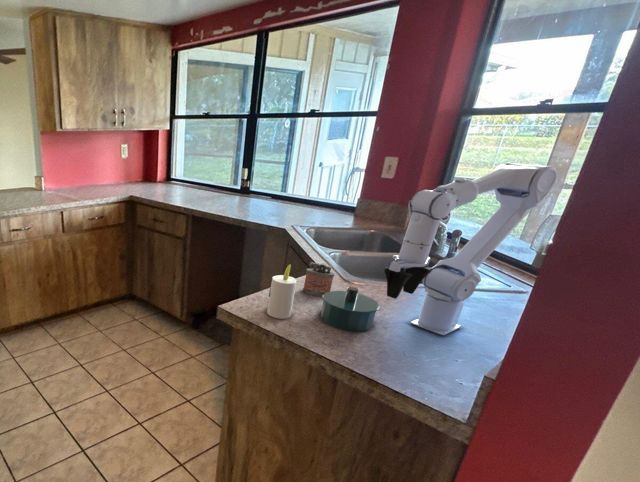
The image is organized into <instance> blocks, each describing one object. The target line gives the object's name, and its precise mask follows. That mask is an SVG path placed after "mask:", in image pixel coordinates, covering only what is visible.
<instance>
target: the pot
mask: <svg viewBox="0 0 640 482" xmlns="http://www.w3.org/2000/svg"><path fill="white" fill-rule="evenodd" d="M376 314H377V311H376V312H373V313H353V312H348V311H343V310H340V309H337V308H334V307H332V306H330V305H328V304H327V303H325V302H324V300H323V302H322V306H321V311H320V318H321V320H322V321H324V323H326V324H328V325H329V326H332V327H335V328H336V329H337V328H338V329H340V330H344V331H352V332H364V331H368V330H370V329H371V328H373V324H374V321H375V317H376Z"/></svg>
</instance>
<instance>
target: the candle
mask: <svg viewBox="0 0 640 482" xmlns="http://www.w3.org/2000/svg"><path fill="white" fill-rule="evenodd" d="M291 267H292V265H291V263H290V264H288V265H287V267H286V268H285V271H284V273H283V274H277V275H274V276H272V277H271V284H270V287H269V292H268V297H269V298H268V305H267V310H266V313H267V315H269V316H270V317H271V318H275V319H281V320H285V319H289V318H290V317H291V315H292V310H293V304H294V300H295V299H294V298H295V293H296V287H297V282H298V280H297V279H296V278H295V277H293V276H290V272H291Z"/></svg>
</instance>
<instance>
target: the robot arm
mask: <svg viewBox="0 0 640 482" xmlns="http://www.w3.org/2000/svg"><path fill="white" fill-rule="evenodd" d="M557 178H558V171H557V169H556V168H555V166H553V165H546V166H545V165H536V164H523V163H515V162H509V161H508V162H505V163H503V164H499V165H497V166H496V168H495V169H494V170H492V171H490V172H488V173H485V174H483V175H481V176H479V177H477V178H475V179H472V180H471V179H469V178H465V177H464V178H463V177H458V178H455V179H454V181H452V182H451V183H447V184H444V185H439V186H437V187H436V188H434V189H433V190H430V189H423V190H420V191H418V192H416V193H415V194H414V195H413V196H412V198H411V200H409V201H408V205H407V207H408V211H409V214H408V216H407V217H408V221H409V222H408V225H407V228H406V231H405V234H404V237H403V241H402V244H401V247H400V249H399V254H394V255H393V256H392V259H394V260H393V261H391V262H390V265H389V266H385V267H384V270H383V272H384V274H385V278H386V297H389V298H392V299H395V300H396V299H398V298H399V296H400V294H401V292H402V291H403V292H404V293H407V294H410V295H413V294H414V293H415V292H416V290H417V288H419V286H420V284H421V282H422V285H423V287H424V288H425V289H424V292H426V294H425V298H424V299H423V300H424V301H423V304H422V307H421V310H420V313H419V317H418V318H417V319H416V318H415V319H414V320H412V321H410V324H411V325H414V326H415V327H416V326H417V327H419V328H421V329H424V330H427V331H430V332H432V333H435V334H437V335H440V336H446V335H448V334H449V333H452V332H454V331H456V330H458V329H460V328H461V325H460V324H458V322H459V319H460V316H461V313H462V310H463V307H464V302H465V300H468V299H469V298H470V297H471V296H472V295H473V294H474V293H475V290H476V288H477V286H478V284H480V282H481V281H482V278H481V274H480V273H479V270H478V268H479V267H480V266H481V265H482V264H483V263H484V262H485V261H486V260H487V258H488V257H489V256H490V255H491V254H492V253H493V252H494V251H495V250H496V249H497V248H498V247H499V245H500V244H502V243H503V241H505V239H506V238H507V237H508V236H509V235H510V234H511V233H512V232H513V231H514V229H516V228H517V226H519V224H520V223H521V222H522V221H523V220H524V219H525V217H526V216H527V215H528V214H529V213H531V211H532V210H533V208H536V207H538V206H539V204H541V202H542V201H543V200H544V199H545V198H546V197H547V196H548V195H549V194H550V193H551V192H552V190H553V189H554V188H556V184H557V180H558V179H557ZM491 191H494V195H495V200H497V202H498V203H500V206H499V207H498V209H496V211H495V212H494V213H493V214H492V215H491V216H490V217H489V218H488V219H487V220H486V222H485V223H484V224H483V225H482V226H481V227H480V228H479V230H477V232H475V234H474V235H473V236H472V237H471V238H470V239H469V240H468V241H467V242H466V243H465V245H464V246H463V247H462V248H461V249H460V250H459V251H458V252H457V254H456V255H455V256H453V257H448V258H444V259H441V260H439V261H438V262H437V263H436V264H435V265H434V266H432V267H430V266H429V264H430V261H431V257H430V256H429V255H430V251H431V249H432V246H433V243H434V240H435V237H436V235H437V232H438V229H439V226H440V223H441V221H442V219H445V218H446V217H447V216H448V215H449V214H450V213H451V212H452V211H453V210H455V209H457V208H459V207H462V206H465V205H467V204H469V203H473V202H474V201H475V200H476V199H477V198H478V195H480V194H485V193H488V192H491Z"/></svg>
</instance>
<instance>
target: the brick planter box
mask: <svg viewBox="0 0 640 482" xmlns="http://www.w3.org/2000/svg"><path fill="white" fill-rule="evenodd" d="M309 267H310V268H306V270H305V271H306V274H305V278H304V279H305V280H304V284H303V288H302V293H304V294H307V295H312V296H316V297H322V298H323V295H324V294H325V293H327V292H330V291H332V285H333V280H334V277H335V274H336V273H335V272H333V271H332V267H333V266H332V265H326V263H324V262H323V263H319V262H313V261H311V262H310V263H309Z"/></svg>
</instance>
